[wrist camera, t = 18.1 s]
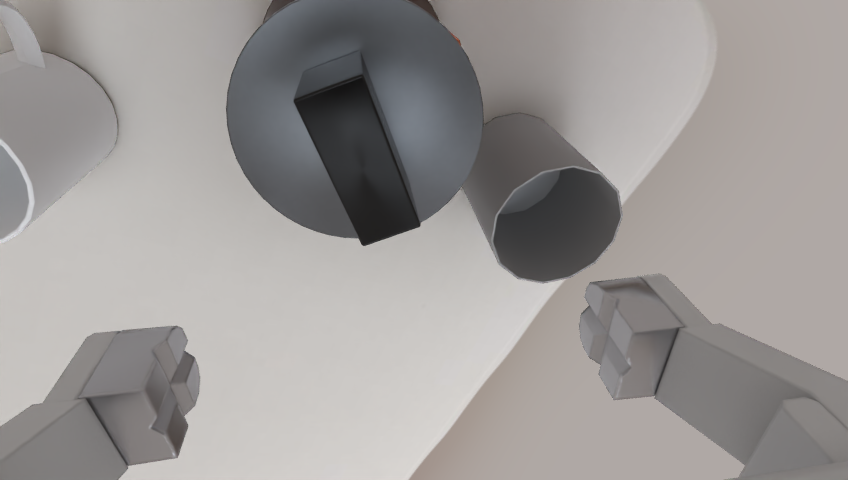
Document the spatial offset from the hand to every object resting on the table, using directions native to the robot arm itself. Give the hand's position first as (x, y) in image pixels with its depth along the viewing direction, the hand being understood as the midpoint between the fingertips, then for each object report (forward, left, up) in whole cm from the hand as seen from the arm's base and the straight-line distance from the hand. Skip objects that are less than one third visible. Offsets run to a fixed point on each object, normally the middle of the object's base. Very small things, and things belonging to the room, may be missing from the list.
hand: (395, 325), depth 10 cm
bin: (0, 0, -25) cm, 25 cm away
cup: (-1, +14, -27) cm, 30 cm away
